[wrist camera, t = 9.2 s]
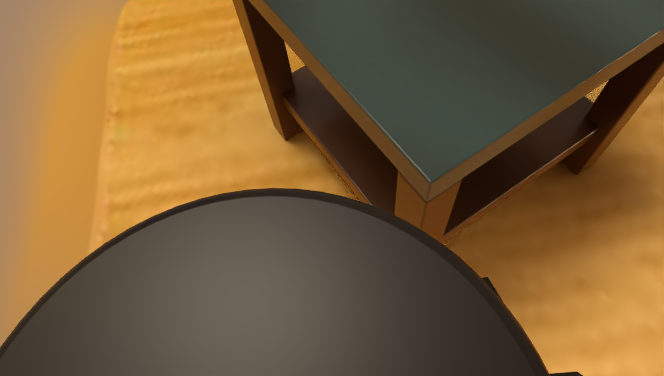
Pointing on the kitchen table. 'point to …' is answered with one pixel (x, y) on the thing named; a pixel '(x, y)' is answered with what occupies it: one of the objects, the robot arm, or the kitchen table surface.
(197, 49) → the kitchen table surface
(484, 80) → the stand
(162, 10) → the kitchen table surface
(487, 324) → the jar
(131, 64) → the kitchen table surface
